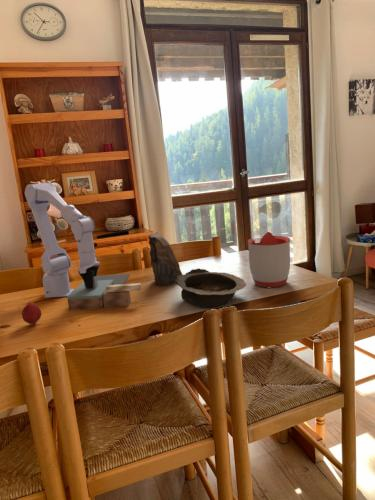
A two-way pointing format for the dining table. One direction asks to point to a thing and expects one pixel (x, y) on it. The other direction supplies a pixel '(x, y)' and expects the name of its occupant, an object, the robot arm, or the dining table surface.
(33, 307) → the onion
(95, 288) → the lid
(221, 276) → the stone bowl
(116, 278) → the mat
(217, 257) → the dining table surface
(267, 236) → the citrus juicer
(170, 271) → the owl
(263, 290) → the dining table surface
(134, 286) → the beige rectangular bar
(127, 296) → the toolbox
